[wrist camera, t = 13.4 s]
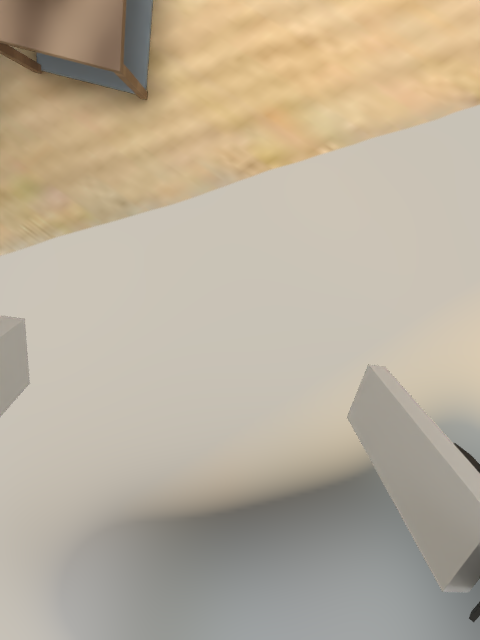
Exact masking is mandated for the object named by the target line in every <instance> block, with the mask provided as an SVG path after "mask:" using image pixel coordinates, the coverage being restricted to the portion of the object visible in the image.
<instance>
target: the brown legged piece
mask: <svg viewBox="0 0 480 640" xmlns="http://www.w3.org/2000/svg"><path fill="white" fill-rule="evenodd" d="M125 20H126V0H0V54H2V55H4V56H6V57H8V58H10V59H11V60H13V61H15V62H17V63H19V64H21V65H22V66H24V67H26V68H28V69H30V70H32V71H33V72H37V73H41V65H40V64H38V63H37V62H35V61H33V60H32V59H30V58H28V57H27V56H25V55H24V54H22V53H20V52H19V51H17V50H15V49H14V48H12V47H10V46H14V47H18V48H22V49H26V50H30V51H34V52H38V53H42V54H45V55H49V56H53V57H57V58H61V59H65V60H69V61H73V62H77V63H80V64H84V65H88V66H92V67H96V68H100V69H104V70H108V71H112V72H114V73H115V74H116V75H117V76H118V77H119V78H120V79H121V80H122V81H123V82H124V83H125V84H126V85H127V86H128V87H129V88H130V89H131V90H132V91H133V92H134V93H135V94H136V95H137V96H138V97H139V98H142V99H146V100H147V91H146V90H145V88H144V87H143V86H142V85H141V84H140V82H139V81H138V80H137V79H136V78H135V77H134V75H133V74H132V73H131V72H130V71H129V69H128V68H127V67H126V66H125V65H124V63H123V62H124V41H125ZM9 45H10V46H9Z"/></svg>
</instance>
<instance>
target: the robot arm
mask: <svg viewBox="0 0 480 640" xmlns="http://www.w3.org/2000/svg"><path fill="white" fill-rule="evenodd" d="M29 383H30V382H29V370H28V356H27V344H26V331H25V319H22V318H15V317H8V316H0V417H1V416H2V415H3V413H4V412H5V411H6V410H7V409H8V408H9V406H10V405H11V404H12V403H13V402H14V401H15V400H16V398H17V397H18V396H19V395H20V394H21V393H22V392H23V390H24V389H25V388H26V387H27V386H28V385H29ZM347 418H348V420H349V422H350V424H351V425H352V427H353V429H354V431H355V433H356V435H357V436H358V438H359V440H360V442H361V444H362V445H363V447H364V449H365V451H366V453H367V455H368V456H369V458H370V460H371V462H372V464H373V466H374V467H375V469H376V471H377V473H378V475H379V477H380V478H381V480H382V482H383V484H384V486H385V488H386V489H387V491H388V493H389V495H390V497H391V498H392V500H393V502H394V504H395V506H396V508H397V509H398V511H399V513H400V515H401V517H402V519H403V520H404V522H405V524H406V526H407V528H408V530H409V531H410V533H411V535H412V537H413V539H414V540H415V542H416V544H417V546H418V548H419V550H420V551H421V553H422V555H423V557H424V559H425V560H426V562H427V564H428V566H429V568H430V570H431V572H432V573H433V575H434V577H435V579H436V581H437V582H438V584H439V586H440V588H441V590H442V591H443V592H469V591H470V590H471V588H472V587H473V586H474V585H475V584H476V582H477V581H478V580H479V579H480V464H479V463H478V462H477V461H476V460H475V459H474V458H473V457H472V456H471V455H470V454H469V453H467V452H466V451H465V450H463V449H462V448H461V447H459V446H458V445H457V444H456V443H452V442H451V440H450V439H449V438H448V437H447V436H446V435H445V434H444V432H443V431H442V430H441V429H440V428H439V427H438V426H437V425H436V423H435V422H434V421H433V420H432V419H431V418H430V417H429V416H428V414H426V412H425V411H424V410H423V409H422V408H421V407H420V405H419V404H418V403H417V402H416V401H415V400H414V399H413V398H412V396H411V395H410V394H409V393H408V392H407V391H406V390H405V388H404V387H403V386H402V385H401V384H400V383H399V382H398V381H397V379H396V378H395V377H394V376H393V375H392V374H391V373H390V371H389V370H388V369H387V368H386V367H383V366H376V365H368V366H367V369H366V371H365V374H364V376H363V379H362V381H361V384H360V386H359V389H358V391H357V394H356V396H355V398H354V401H353V403H352V406H351V408H350V411H349V413H348V416H347ZM479 616H480V602H479V604H477V606H476V607H475V608H474V609H473V610H472V612H471V614H470V617H469V619H470V620H472V621H473V622H474V621H475V620H476V619H477V618H478V617H479Z"/></svg>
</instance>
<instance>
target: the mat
mask: <svg viewBox="0 0 480 640" xmlns="http://www.w3.org/2000/svg"><path fill="white" fill-rule="evenodd" d="M152 8H153V0H126V20H125V41H124V62H123V63H124V65H125V66H126V67H127V68H128V69H129V71H130V72H131V73H132V74H133V75H134V77H135V78H136V79H137V80H138V81H139V82H140V84H141V85H142V86H143V87H144V88H145V90H146V89H147V75H148V62H149V48H150V35H151V21H152ZM36 53H37V63H38V64H40V65H41V71H45V72H49V73H53V74H57V75H61V76H65V77H69V78H73V79H77V80H81V81H85V82H89V83H93V84H97V85H101V86H105V87H109V88H113V89H117V90H121V91H125V92H129V93H133V94H135V93H134V92H133V91H132V90H131V89H130V88H129V87H128V86H127V85H126V84H125V83H124V82H123V81H122V80H121V79H120V78H119V77H118V76H117V75H116V74H115V73H114V72H112V71H108V70H104V69H100V68H96V67H92V66H88V65H84V64H80V63H77V62H73V61H69V60H65V59H61V58H57V57H53V56H49V55H45V54H42V53H38V52H36Z"/></svg>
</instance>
